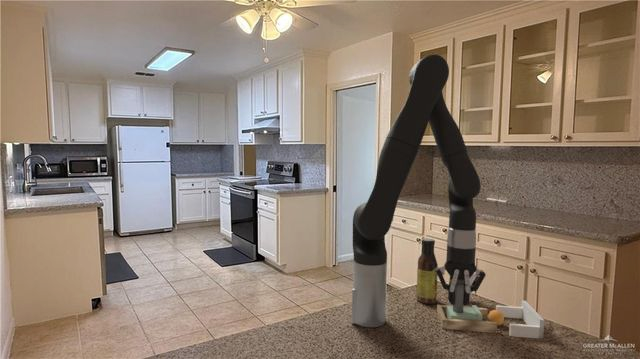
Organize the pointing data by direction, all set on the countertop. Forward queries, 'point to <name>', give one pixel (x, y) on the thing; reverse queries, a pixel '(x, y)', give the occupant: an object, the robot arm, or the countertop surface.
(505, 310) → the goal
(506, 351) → the countertop surface
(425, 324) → the countertop surface
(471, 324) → the wooden rectangular frame
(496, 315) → the ball
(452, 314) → the striker
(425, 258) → the sauce bottle
